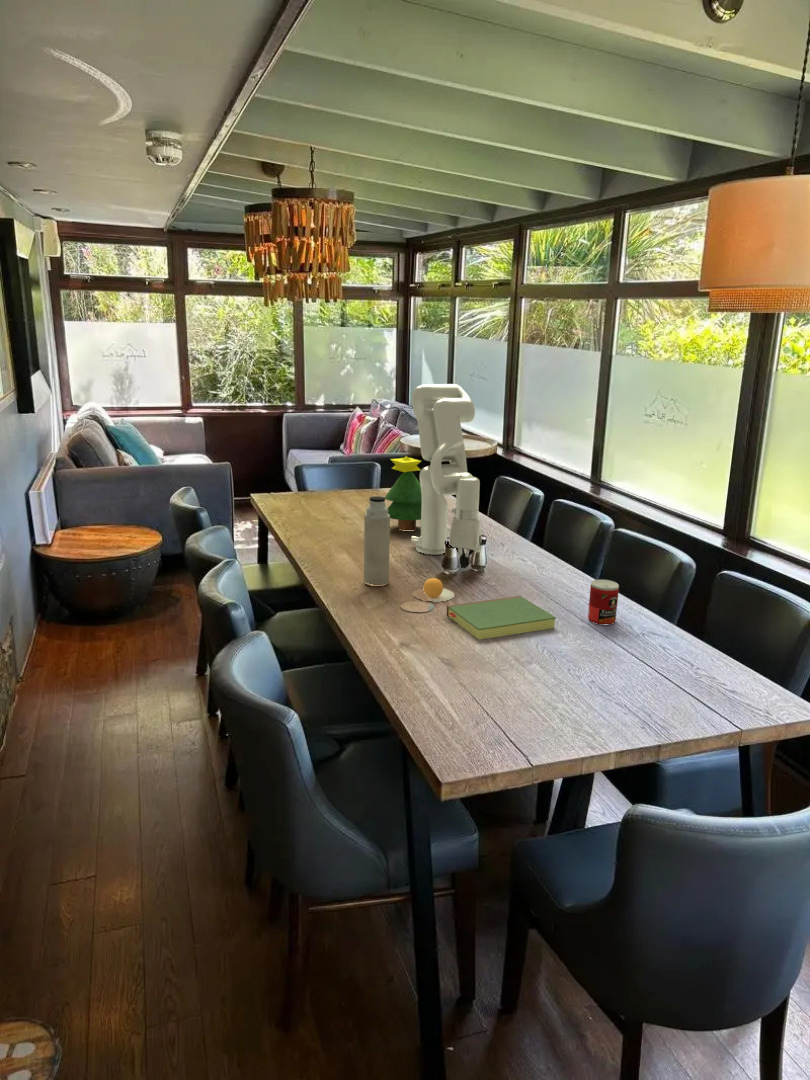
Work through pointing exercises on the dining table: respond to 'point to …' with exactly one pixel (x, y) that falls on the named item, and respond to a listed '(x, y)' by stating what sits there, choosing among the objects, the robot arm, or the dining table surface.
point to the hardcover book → (500, 617)
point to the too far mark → (431, 607)
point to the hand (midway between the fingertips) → (464, 566)
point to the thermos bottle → (376, 542)
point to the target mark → (444, 596)
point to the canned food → (603, 601)
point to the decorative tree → (405, 494)
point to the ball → (433, 587)
